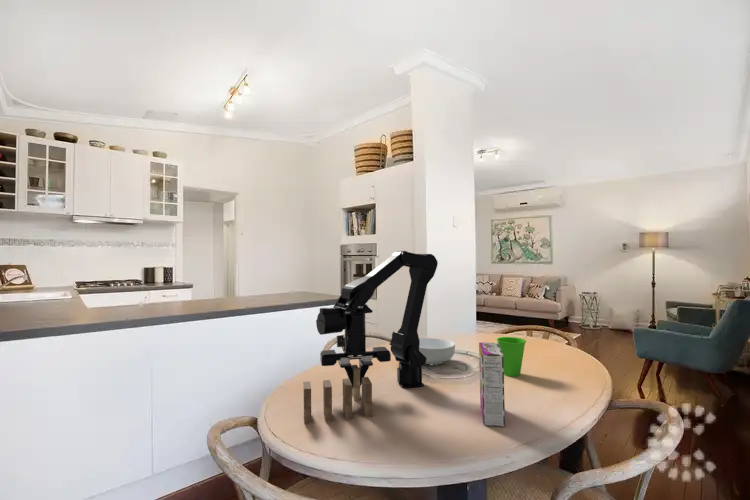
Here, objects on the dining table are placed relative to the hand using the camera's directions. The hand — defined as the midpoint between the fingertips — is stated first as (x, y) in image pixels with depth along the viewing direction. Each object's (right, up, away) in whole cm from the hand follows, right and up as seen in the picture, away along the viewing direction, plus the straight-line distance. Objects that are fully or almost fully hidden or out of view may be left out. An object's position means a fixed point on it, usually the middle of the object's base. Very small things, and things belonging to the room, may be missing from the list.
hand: (355, 387), depth 105 cm
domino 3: (-1, -3, -12) cm, 12 cm away
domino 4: (0, -3, 0) cm, 2 cm away
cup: (+49, -2, +18) cm, 52 cm away
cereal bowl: (+25, -3, +32) cm, 41 cm away
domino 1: (-11, -3, -14) cm, 18 cm away
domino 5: (+3, -3, -11) cm, 11 cm away
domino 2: (-6, -3, -13) cm, 14 cm away
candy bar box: (+33, -2, -13) cm, 36 cm away
